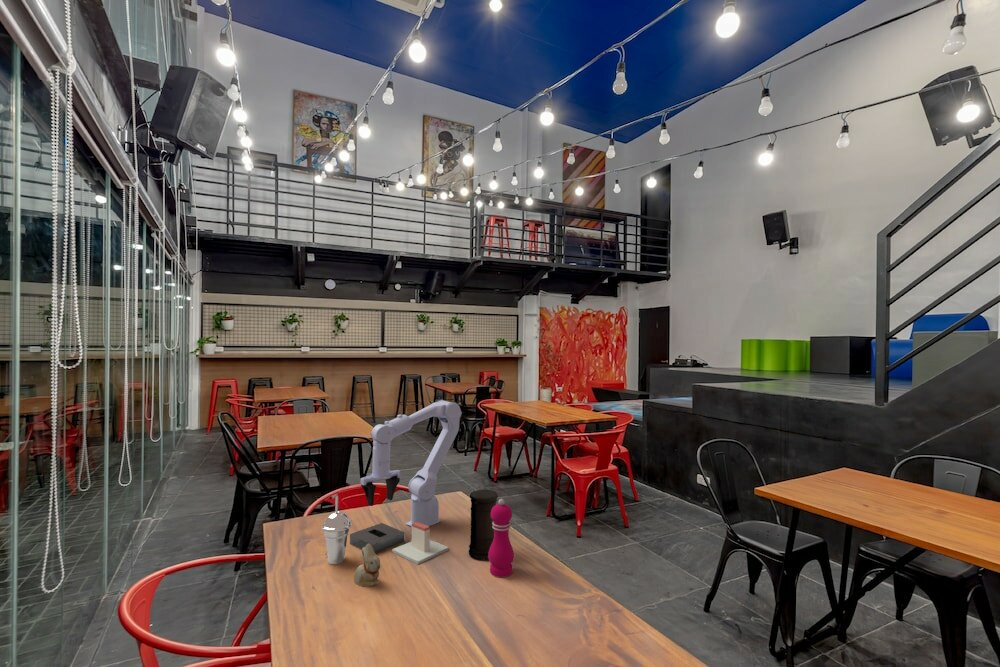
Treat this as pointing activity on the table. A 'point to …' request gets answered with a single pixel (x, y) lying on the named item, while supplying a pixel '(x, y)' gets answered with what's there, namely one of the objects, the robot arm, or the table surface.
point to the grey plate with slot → (377, 537)
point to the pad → (419, 552)
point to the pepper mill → (501, 541)
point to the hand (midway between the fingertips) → (380, 502)
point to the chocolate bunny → (368, 568)
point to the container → (481, 523)
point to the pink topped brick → (420, 536)
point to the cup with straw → (336, 534)
